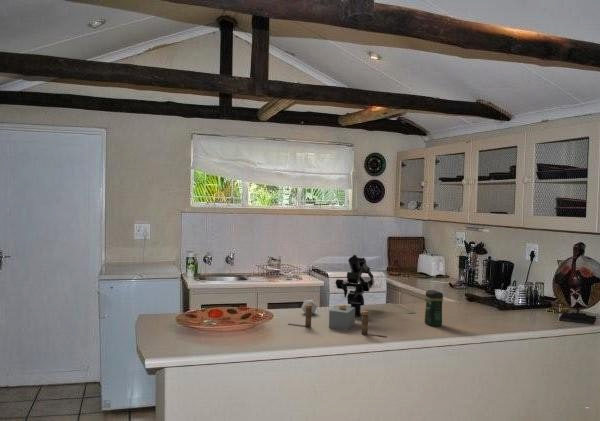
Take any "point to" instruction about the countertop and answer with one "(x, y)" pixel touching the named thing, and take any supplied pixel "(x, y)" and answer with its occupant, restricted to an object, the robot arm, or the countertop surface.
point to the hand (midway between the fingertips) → (349, 297)
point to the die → (309, 302)
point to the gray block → (342, 317)
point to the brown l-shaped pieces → (364, 321)
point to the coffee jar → (433, 308)
